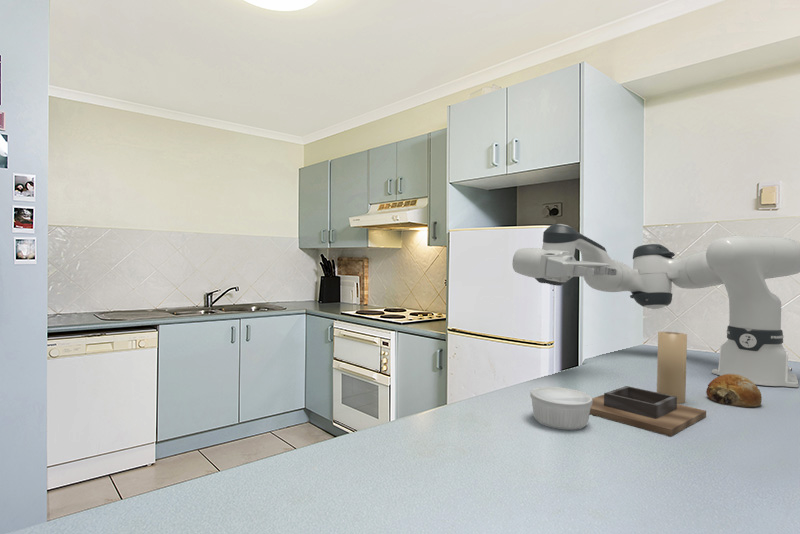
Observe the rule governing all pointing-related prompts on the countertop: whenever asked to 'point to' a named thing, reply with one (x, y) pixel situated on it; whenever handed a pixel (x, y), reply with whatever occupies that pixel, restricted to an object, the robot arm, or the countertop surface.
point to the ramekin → (561, 407)
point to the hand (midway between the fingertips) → (605, 272)
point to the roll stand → (646, 410)
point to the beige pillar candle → (672, 364)
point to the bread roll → (734, 391)
